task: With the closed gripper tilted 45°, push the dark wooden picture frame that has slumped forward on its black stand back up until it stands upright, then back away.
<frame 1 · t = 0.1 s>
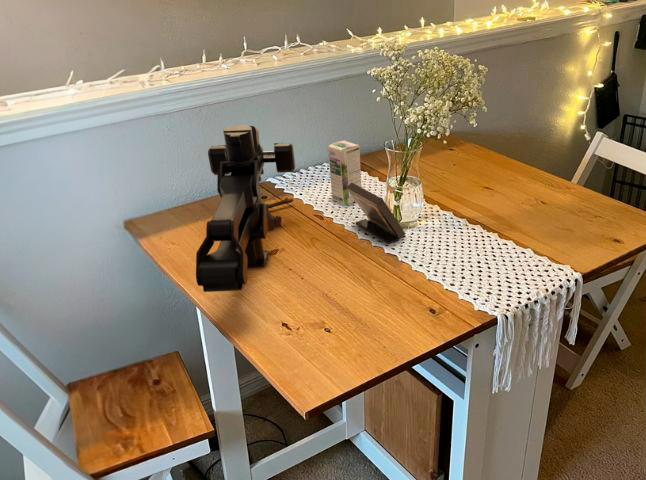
hand: (257, 146, 159), 17 cm above the table, tool horizontal, fingers open, 9 cm apart
picture frame: (375, 210, 153), point 6 cm above the table, hinge at -30.0°
frame stand: (388, 229, 157), on the table
brown spindly part: (264, 219, 164), on the table
syrup box: (347, 200, 172), on the table
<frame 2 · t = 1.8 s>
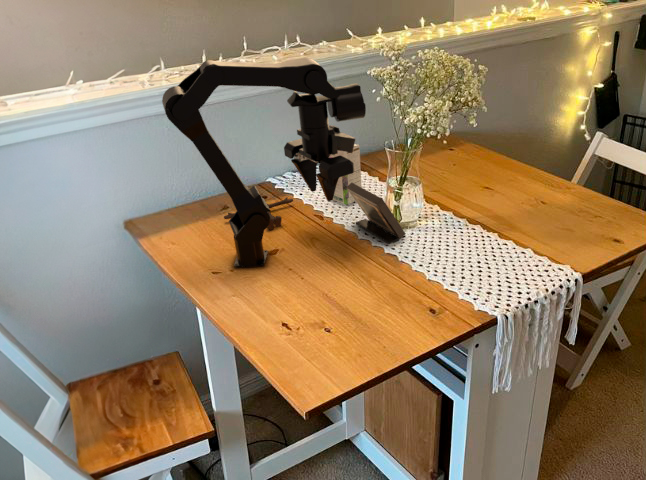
hand: (321, 195, 145), 12 cm above the table, tool pointing down, fingers open, 6 cm apart
nothing on the table moved.
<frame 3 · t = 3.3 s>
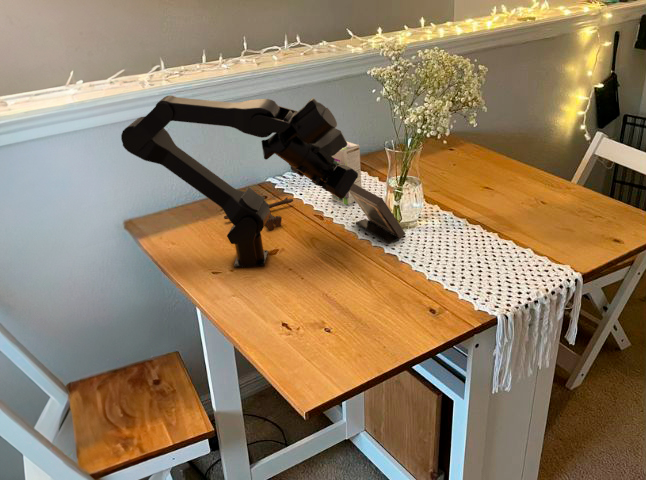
hand: (348, 190, 145), 13 cm above the table, tool tilted 45°, fingers closed
nothing on the table moved.
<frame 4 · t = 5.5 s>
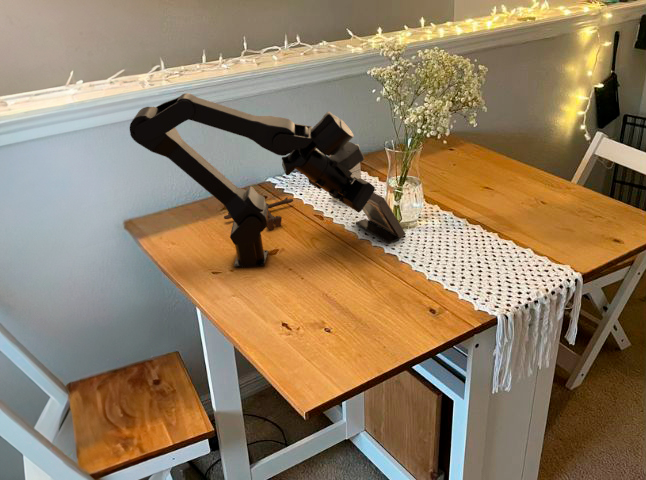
hand: (364, 202, 149), 9 cm above the table, tool tilted 45°, fingers closed, pressing on picture frame
picture frame: (376, 210, 153), point 6 cm above the table, hinge at -28.2°, touching gripper
everything else where it was.
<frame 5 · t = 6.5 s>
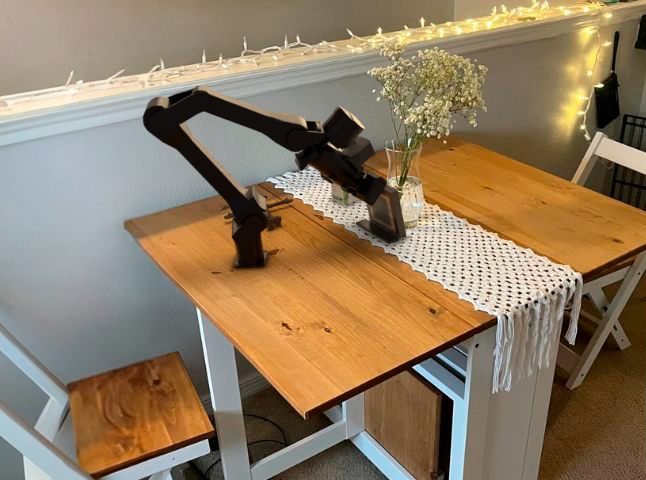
hand: (376, 196, 151), 9 cm above the table, tool tilted 45°, fingers closed, pressing on picture frame
picture frame: (383, 206, 153), point 6 cm above the table, hinge at -10.0°, touching gripper
everything else where it was.
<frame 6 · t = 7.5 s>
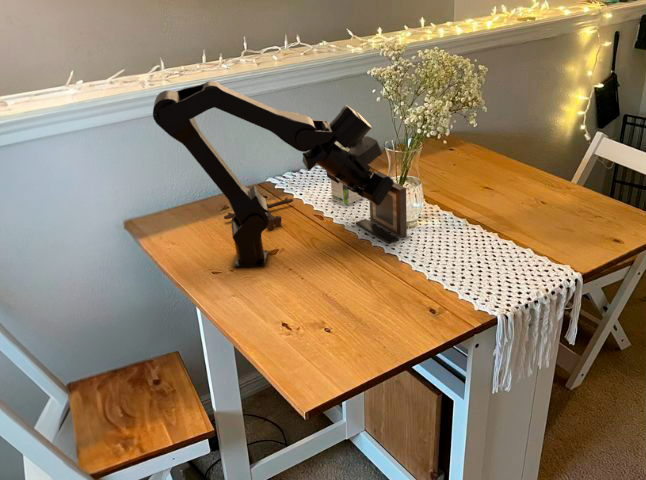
hand: (382, 196, 152), 9 cm above the table, tool tilted 45°, fingers closed
picture frame: (387, 205, 154), point 6 cm above the table, hinge at 0.7°
everything else where it was.
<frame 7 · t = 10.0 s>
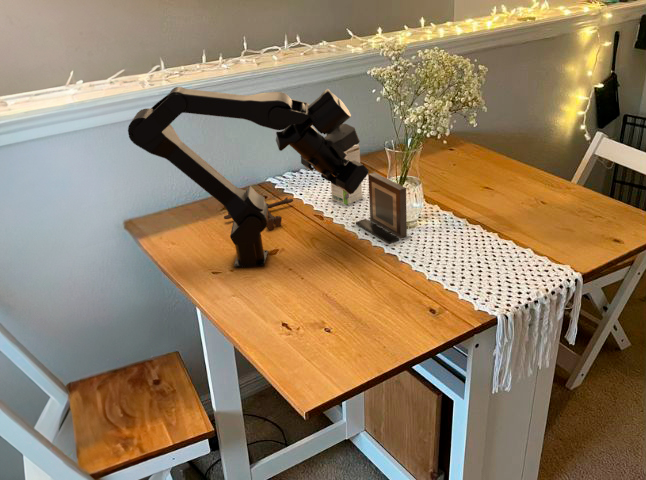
hand: (356, 187, 147), 12 cm above the table, tool tilted 40°, fingers closed
nothing on the table moved.
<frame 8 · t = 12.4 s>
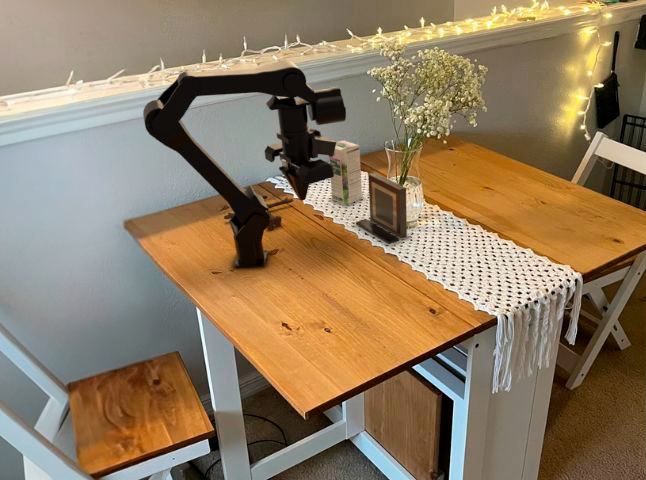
hand: (302, 199, 144), 12 cm above the table, tool pointing down, fingers closed
nothing on the table moved.
at the end: picture frame at +1° (first picture: -30°); syrup box moved 0.2 cm from its start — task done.
